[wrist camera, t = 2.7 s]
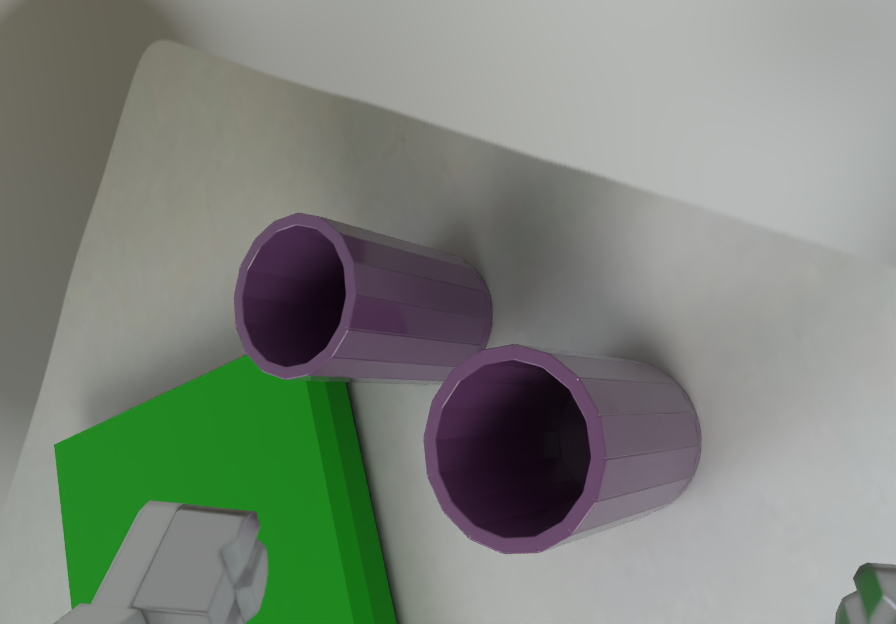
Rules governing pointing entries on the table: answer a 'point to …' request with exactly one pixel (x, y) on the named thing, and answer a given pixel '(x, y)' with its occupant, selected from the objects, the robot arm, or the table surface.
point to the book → (237, 488)
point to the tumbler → (356, 305)
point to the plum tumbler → (556, 445)
